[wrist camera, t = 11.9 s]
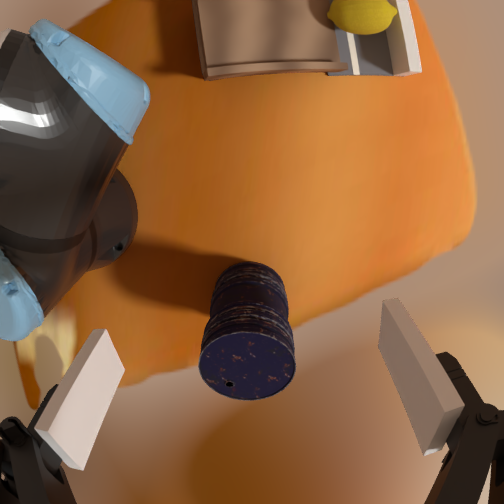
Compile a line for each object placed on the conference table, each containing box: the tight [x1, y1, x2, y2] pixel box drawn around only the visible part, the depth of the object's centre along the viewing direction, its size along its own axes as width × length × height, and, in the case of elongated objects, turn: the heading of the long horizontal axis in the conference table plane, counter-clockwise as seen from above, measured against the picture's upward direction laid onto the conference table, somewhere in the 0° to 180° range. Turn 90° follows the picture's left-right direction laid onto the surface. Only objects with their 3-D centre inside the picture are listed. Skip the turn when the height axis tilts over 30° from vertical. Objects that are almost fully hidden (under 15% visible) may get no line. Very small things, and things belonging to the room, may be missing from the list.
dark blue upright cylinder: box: [198, 262, 296, 400], centre depth 37 cm, size 10×10×15 cm
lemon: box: [327, 0, 397, 35], centre depth 26 cm, size 6×6×8 cm
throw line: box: [346, 32, 360, 75], centre depth 30 cm, size 1×12×1 cm, turn 8°
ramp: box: [192, 0, 348, 81], centre depth 27 cm, size 15×12×8 cm
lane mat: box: [327, 0, 393, 76], centre depth 30 cm, size 10×12×1 cm
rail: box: [386, 0, 422, 76], centre depth 27 cm, size 2×12×5 cm, turn 8°
